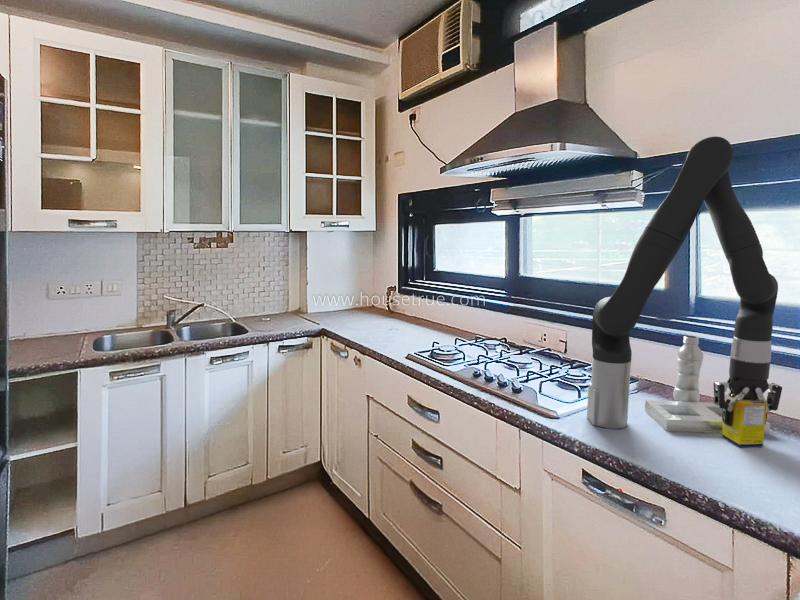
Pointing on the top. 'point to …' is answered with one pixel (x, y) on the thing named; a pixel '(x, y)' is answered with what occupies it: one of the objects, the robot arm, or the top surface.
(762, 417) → the supplement box
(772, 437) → the top surface
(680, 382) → the plastic bottle
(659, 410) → the rail plate
